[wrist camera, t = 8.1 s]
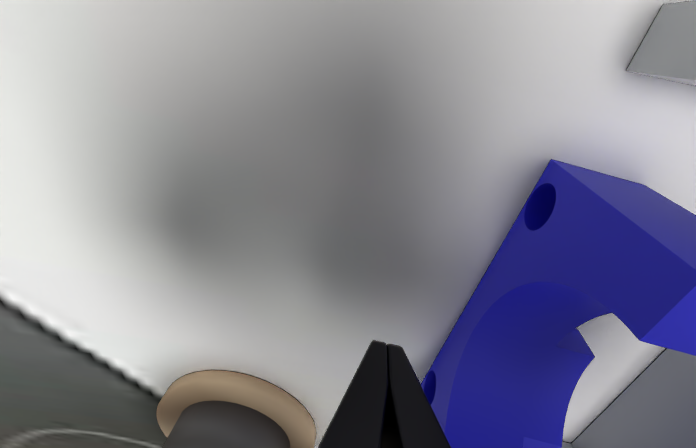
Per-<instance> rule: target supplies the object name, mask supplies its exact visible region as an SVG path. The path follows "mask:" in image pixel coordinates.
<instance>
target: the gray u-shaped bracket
mask: <svg viewBox="0 0 696 448" xmlns="http://www.w3.org/2000/svg"><path fill="white" fill-rule="evenodd" d="M626 71H629V72H633V73H638V74H643V75H647V76H652V77H656V78H661V79H665V80H670V81H675V82H679V83H684V84H688V85H693V86H696V0H693V1H685V2H678V3H670V4H663V6H662V7H661V9H660V11H659V13H658V15H657V16H656V18H655V20H654V22H653V24H652V25H651V27H650V29H649V31H648V32H647V34H646V36H645V38H644V40H643V41H642V43H641V45H640V47H639V49H638V50H637V52H636V54H635V56H634V57H633V59H632V61H631V63H630V65H629V66H628V68H627V70H626ZM561 448H696V356H694V355H690V354H687V353H683V352H679V351H676V350H672V349H668V348H667V349H666V350H665V351H664V352H663V353H662V354H661V355H660V356H659V357H658V358H657V359H656V360H655V361H654V362H653V363H652V364H651V365H650V366H649V367H648V368H647V369H646V370H645V371H644V372H643V373H642V374H641V375H640V376H639V377H638V378H637V379H636V380H635V381H634V382H633V383H632V384H631V385H630V386H629V387H628V388H627V389H626V390H625V391H624V392H623V393H622V394H621V395H620V396H619V397H618V398H617V399H616V400H615V401H614V402H613V403H612V404H611V405H610V406H609V407H608V408H607V409H606V410H605V411H604V412H603V413H602V414H601V415H600V416H599V417H598V418H597V419H596V420H595V421H594V422H593V423H592V424H591V425H590V426H589V427H588V428H587V429H586V430H585V431H584V432H583V433H582V434H581V435H580V436H579V437H578V438H577V439H576V440H575V441H574V442H573V443H572V444H570V443H566V442H562V447H561Z"/></svg>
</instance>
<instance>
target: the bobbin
mask: <svg viewBox="0 0 696 448" xmlns="http://www.w3.org/2000/svg"><path fill="white" fill-rule="evenodd" d="M157 420H158V424H159V426H160V428H161V430H162V431H163V433H164V434H165V436H166V437H167V439H166V441H165V443H164V445H163V446H162V448H314V444H315V439H316V428H315V425H314V421H313V420H312V418H311V416H310V414H309V413H308V412H307V410H306V409H305V408H304V407H303V406H302V405H301V404H300V403H299V402H298V401H297V400H296V399H295V398H294V397H292V396H291V395H289V394H288V393H287V392H285V391H284V390H282V389H280V388H278V387H276V386H275V385H273V384H270V383H268V382H266V381H264V380H261V379H258V378H255V377H252V376H249V375H245V374H241V373H236V372H230V371H220V370H209V371H199V372H194V373H190V374H187V375H184V376H182V377H181V378H179V379H177V380H176V381H175V382H173V383H172V384H171V386H170V387H169V388H168V390H167V391H166V393H165V394H164V396H163V397H162V399H161V401H160V402H159V404H158V407H157Z"/></svg>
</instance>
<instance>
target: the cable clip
mask: <svg viewBox="0 0 696 448" xmlns="http://www.w3.org/2000/svg"><path fill="white" fill-rule="evenodd" d="M609 313H613V314H615V315H616V316H617V317H618V318H619V319H620V320H621V321H622V322H623V323H624V324H625V325H626V326H627V327H628V328H629V329H630V330H631V332H632V333H633V334H634V335H635V336H636V337H637V338H638V339H639V340H640V341H643V342H646V343H650V344H654V345H657V346H661V347H665V348H668V349H672V350H676V351H679V352H683V353H687V354H690V355H694V356H696V215H695V214H693V213H691V212H690V211H688V210H686V209H684V208H683V207H681V206H679V205H678V204H676V203H674V202H672V201H671V200H669V199H667V198H666V197H664V196H662V195H660V194H659V193H657V192H655V191H654V190H652V189H650V188H648V187H647V186H645V185H642V184H639V183H635V182H631V181H628V180H624V179H621V178H617V177H613V176H610V175H606V174H603V173H599V172H595V171H592V170H588V169H585V168H581V167H578V166H574V165H570V164H567V163H563V162H560V161H556V160H552V159H551V160H550V162H549V163H548V165H547V167H546V169H545V170H544V172H543V174H542V176H541V177H540V179H539V181H538V182H537V184H536V186H535V188H534V189H533V191H532V193H531V195H530V196H529V198H528V200H527V202H526V203H525V205H524V207H523V208H522V210H521V212H520V214H519V215H518V217H517V219H516V221H515V222H514V224H513V226H512V227H511V229H510V231H509V233H508V234H507V236H506V238H505V240H504V241H503V243H502V245H501V246H500V248H499V250H498V252H497V253H496V255H495V257H494V259H493V260H492V262H491V264H490V266H489V267H488V269H487V271H486V272H485V274H484V276H483V278H482V279H481V281H480V283H479V285H478V286H477V288H476V290H475V291H474V293H473V295H472V297H471V298H470V300H469V302H468V304H467V305H466V307H465V309H464V310H463V312H462V314H461V316H460V317H459V319H458V321H457V323H456V324H455V326H454V328H453V330H452V331H451V333H450V335H449V336H448V338H447V340H446V342H445V343H444V345H443V347H442V349H441V350H440V352H439V354H438V355H437V357H436V359H435V361H434V362H433V364H432V366H431V368H430V369H429V371H428V373H427V374H426V376H425V378H424V380H423V381H422V383H421V387H422V389H423V391H424V393H425V395H426V397H427V399H428V401H429V403H430V405H431V407H432V409H433V411H434V413H435V415H436V418H437V420H438V422H439V424H440V426H441V428H442V430H443V432H444V434H445V436H446V438H447V440H448V442H449V444H450V446H451V448H561V447H562V438H563V428H564V422H565V416H566V412H567V408H568V404H569V401H570V398H571V396H572V393H573V390H574V388H575V386H576V384H577V382H578V380H579V378H580V376H581V375H582V373H583V371H584V370H585V369H586V367H587V366H588V365H589V363H590V362H591V361H592V360H593V359H594V357H595V356H594V355H593V353H592V351H591V350H590V348H589V347H588V345H587V343H586V342H585V340H584V339H583V337H582V336H581V334H580V332H579V331H578V330H577V329H575V328H576V327H578V326H580V325H581V324H583V323H585V322H587V321H589V320H591V319H593V318H596V317H598V316H602V315H605V314H609Z"/></svg>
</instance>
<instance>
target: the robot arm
mask: <svg viewBox="0 0 696 448" xmlns="http://www.w3.org/2000/svg"><path fill="white" fill-rule="evenodd" d="M318 448H451V446H450V444H449V442H448V440H447V438H446V436H445V434H444V432H443V430H442V428H441V426H440V424H439V422H438V420H437V418H436V415H435V413H434V411H433V409H432V407H431V405H430V403H429V401H428V399H427V397H426V395H425V393H424V391H423V389H422V387H421V385H420V383H419V380H418V378H417V376H416V374H415V372H414V370H413V368H412V366H411V364H410V362H409V360H408V358H407V356H406V354H405V352H404V350H403V348H402V347H401V346H398V345H393V344H387V345H386V343H384V342H381V341H376V340H373V341H372V342H371V343H370V345H369V347H368V349H367V351H366V353H365V355H364V357H363V359H362V361H361V363H360V365H359V367H358V369H357V371H356V373H355V375H354V377H353V379H352V381H351V383H350V385H349V387H348V389H347V391H346V393H345V395H344V397H343V399H342V401H341V403H340V405H339V407H338V409H337V411H336V413H335V415H334V416H333V418H332V420H331V422H330V424H329V426H328V428H327V430H326V432H325V434H324V436H323V438H322V440H321V442H320V444H319V447H318Z"/></svg>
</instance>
